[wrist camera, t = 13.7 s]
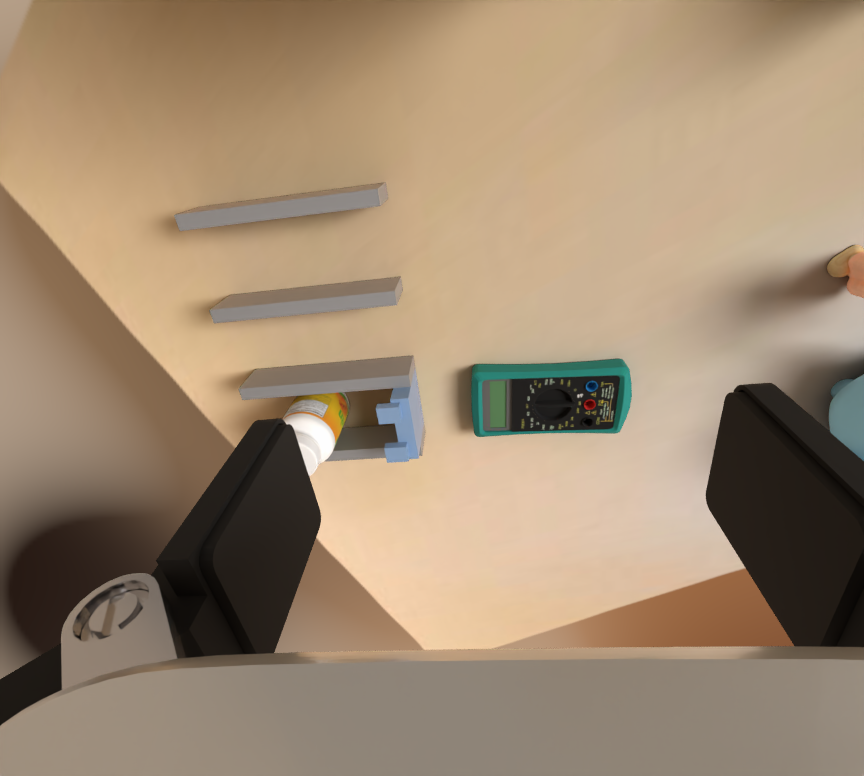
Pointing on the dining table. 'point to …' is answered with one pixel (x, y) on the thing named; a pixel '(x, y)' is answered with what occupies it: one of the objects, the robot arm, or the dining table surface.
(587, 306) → the dining table surface
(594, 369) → the digital multimeter
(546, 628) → the dining table surface
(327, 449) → the supplement bottle
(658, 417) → the dining table surface
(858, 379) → the teapot
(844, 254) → the grandmother figurine
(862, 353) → the dining table surface
